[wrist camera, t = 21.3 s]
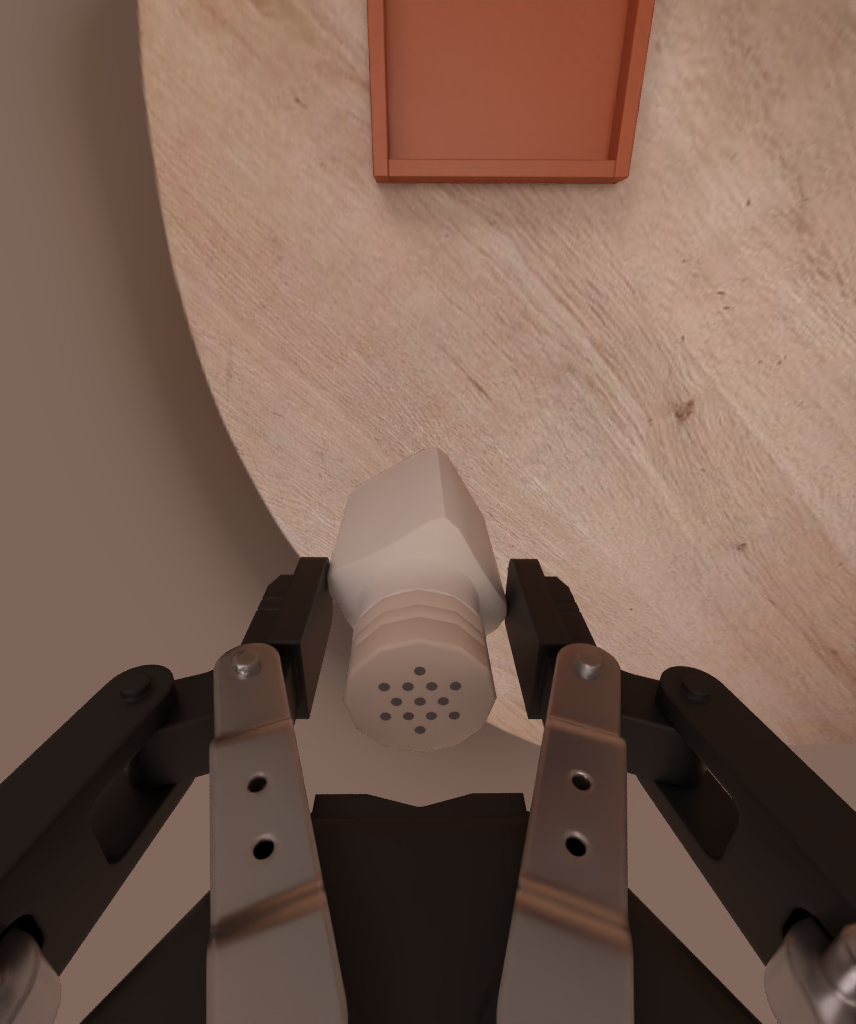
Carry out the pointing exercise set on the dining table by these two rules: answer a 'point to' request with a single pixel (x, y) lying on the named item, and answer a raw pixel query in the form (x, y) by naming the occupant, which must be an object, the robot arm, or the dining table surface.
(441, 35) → the terracotta tray
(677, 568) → the dining table surface
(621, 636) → the dining table surface
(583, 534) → the dining table surface
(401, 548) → the pepper shaker
